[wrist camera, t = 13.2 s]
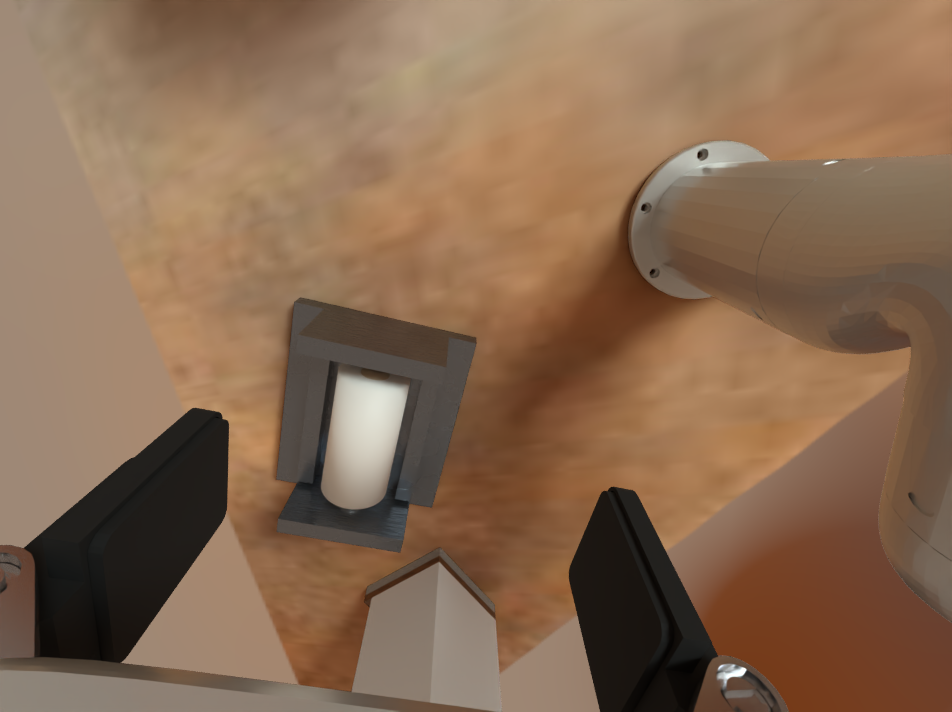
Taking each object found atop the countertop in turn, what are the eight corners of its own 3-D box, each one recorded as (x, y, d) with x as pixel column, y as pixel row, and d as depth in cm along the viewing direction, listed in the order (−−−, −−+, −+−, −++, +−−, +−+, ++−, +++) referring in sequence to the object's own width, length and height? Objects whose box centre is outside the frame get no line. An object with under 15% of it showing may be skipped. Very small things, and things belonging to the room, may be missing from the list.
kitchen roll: (418, 369, 40) (399, 398, 35) (394, 476, 45) (374, 517, 39) (354, 351, 40) (325, 377, 35) (336, 459, 45) (309, 498, 39)
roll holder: (476, 337, 41) (478, 374, 34) (432, 497, 48) (427, 557, 41) (300, 297, 39) (262, 326, 32) (282, 470, 46) (247, 526, 39)
